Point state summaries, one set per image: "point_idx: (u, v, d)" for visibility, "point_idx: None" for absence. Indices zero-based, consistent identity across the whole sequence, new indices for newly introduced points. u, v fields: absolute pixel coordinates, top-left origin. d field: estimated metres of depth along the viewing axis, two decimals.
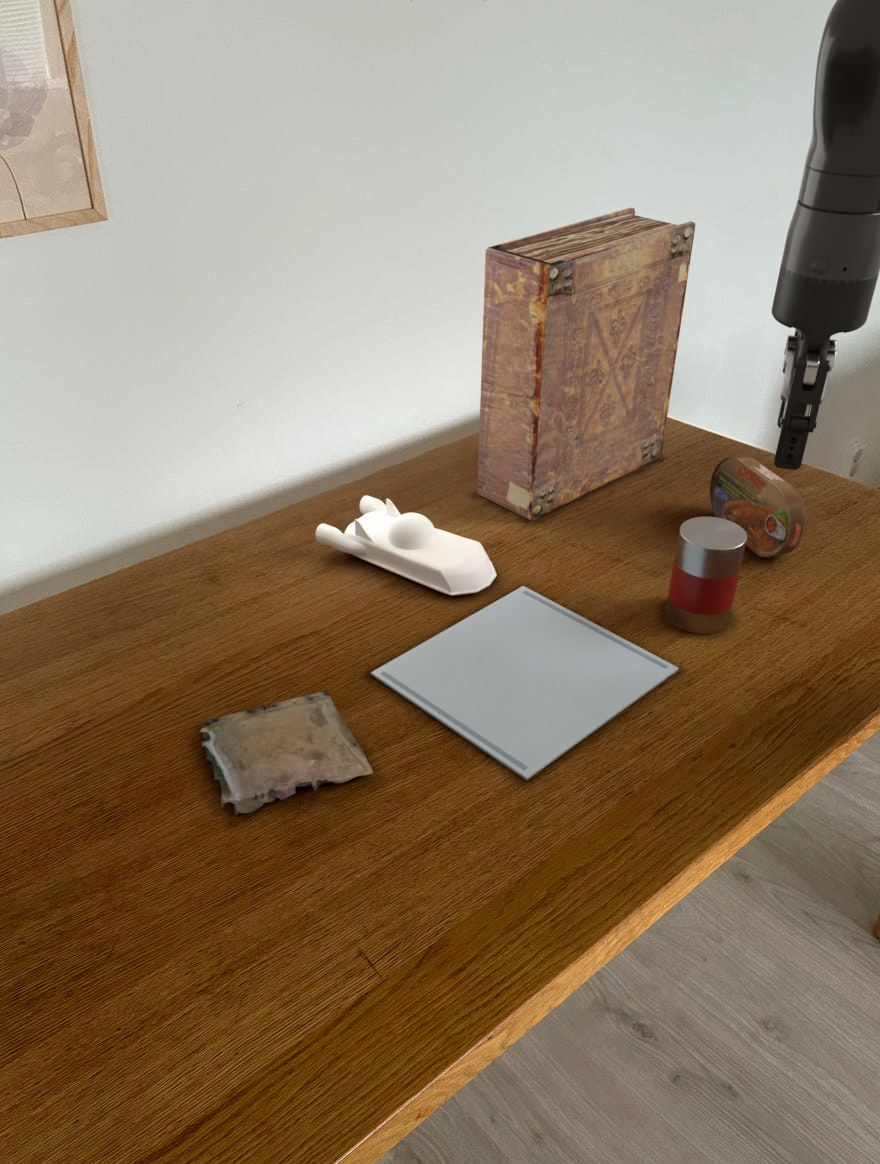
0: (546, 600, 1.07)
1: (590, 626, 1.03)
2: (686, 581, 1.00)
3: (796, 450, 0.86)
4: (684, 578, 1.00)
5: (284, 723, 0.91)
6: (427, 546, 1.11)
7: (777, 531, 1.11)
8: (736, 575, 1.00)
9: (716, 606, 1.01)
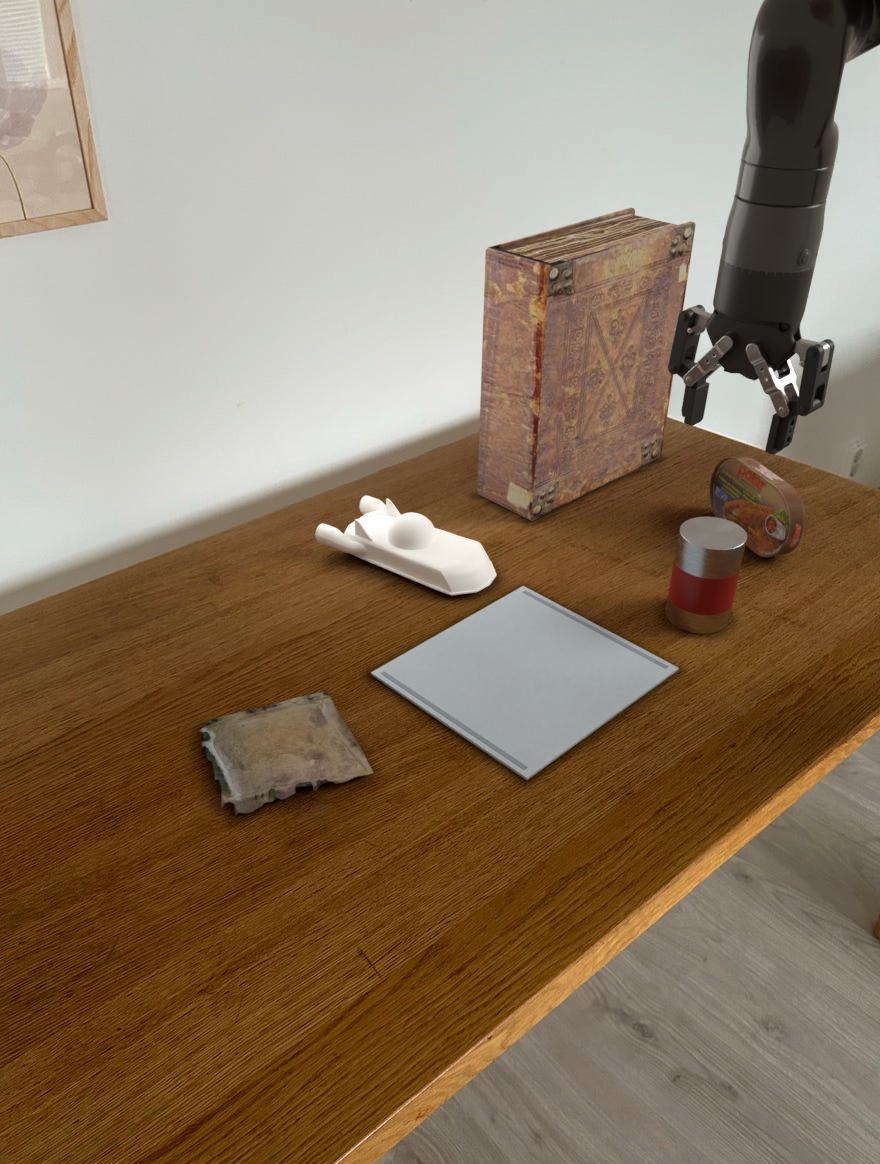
0: (546, 600, 1.07)
1: (590, 626, 1.03)
2: (686, 581, 1.00)
3: (792, 431, 0.89)
4: (684, 578, 1.00)
5: (284, 723, 0.91)
6: (427, 546, 1.11)
7: (777, 531, 1.11)
8: (736, 575, 1.00)
9: (716, 606, 1.01)
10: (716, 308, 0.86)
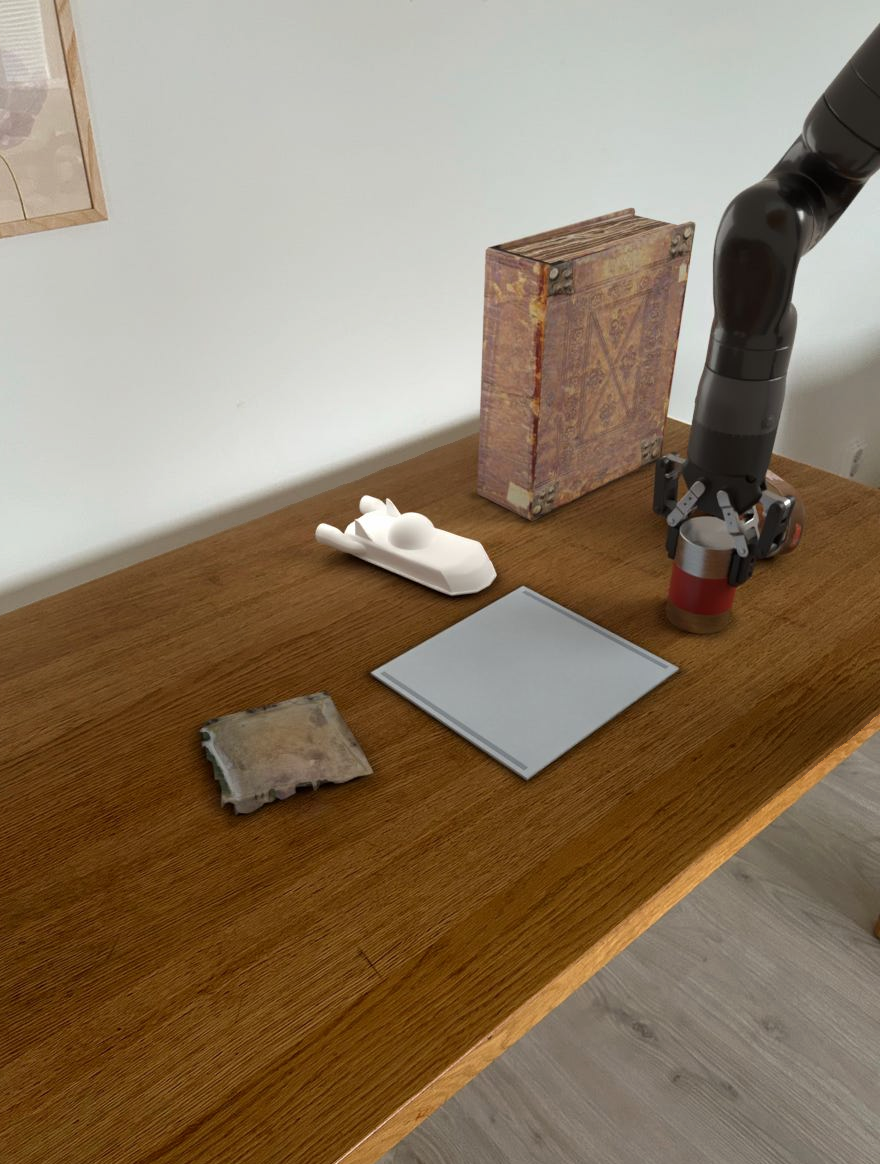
0: (546, 600, 1.07)
1: (590, 626, 1.03)
2: (686, 581, 1.00)
3: (752, 568, 0.98)
4: (684, 578, 1.00)
5: (284, 723, 0.91)
6: (427, 546, 1.11)
7: None
8: None
9: (716, 606, 1.01)
10: (689, 459, 0.94)
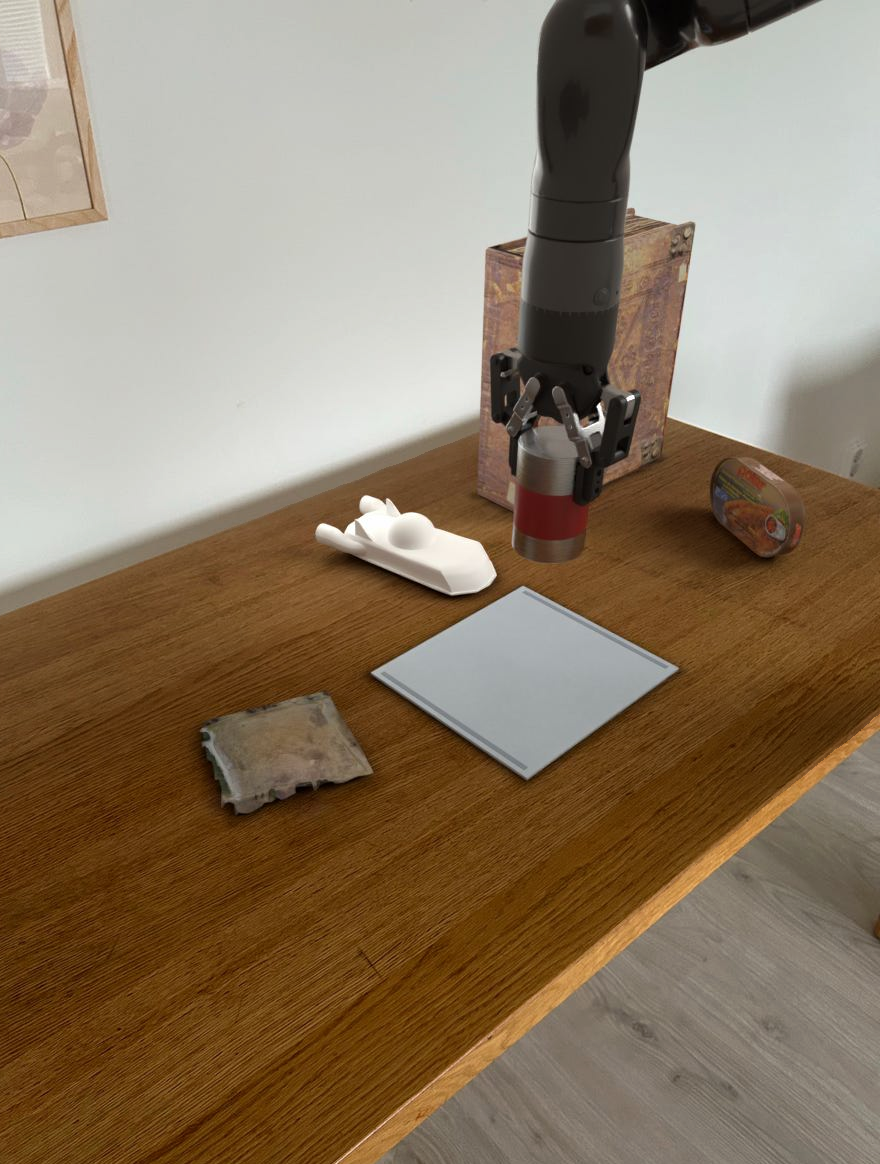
0: (546, 600, 1.07)
1: (590, 626, 1.03)
2: (526, 499, 0.85)
3: (600, 482, 0.83)
4: (524, 496, 0.85)
5: (284, 723, 0.91)
6: (427, 546, 1.11)
7: (777, 531, 1.11)
8: None
9: (562, 529, 0.86)
10: (518, 348, 0.79)
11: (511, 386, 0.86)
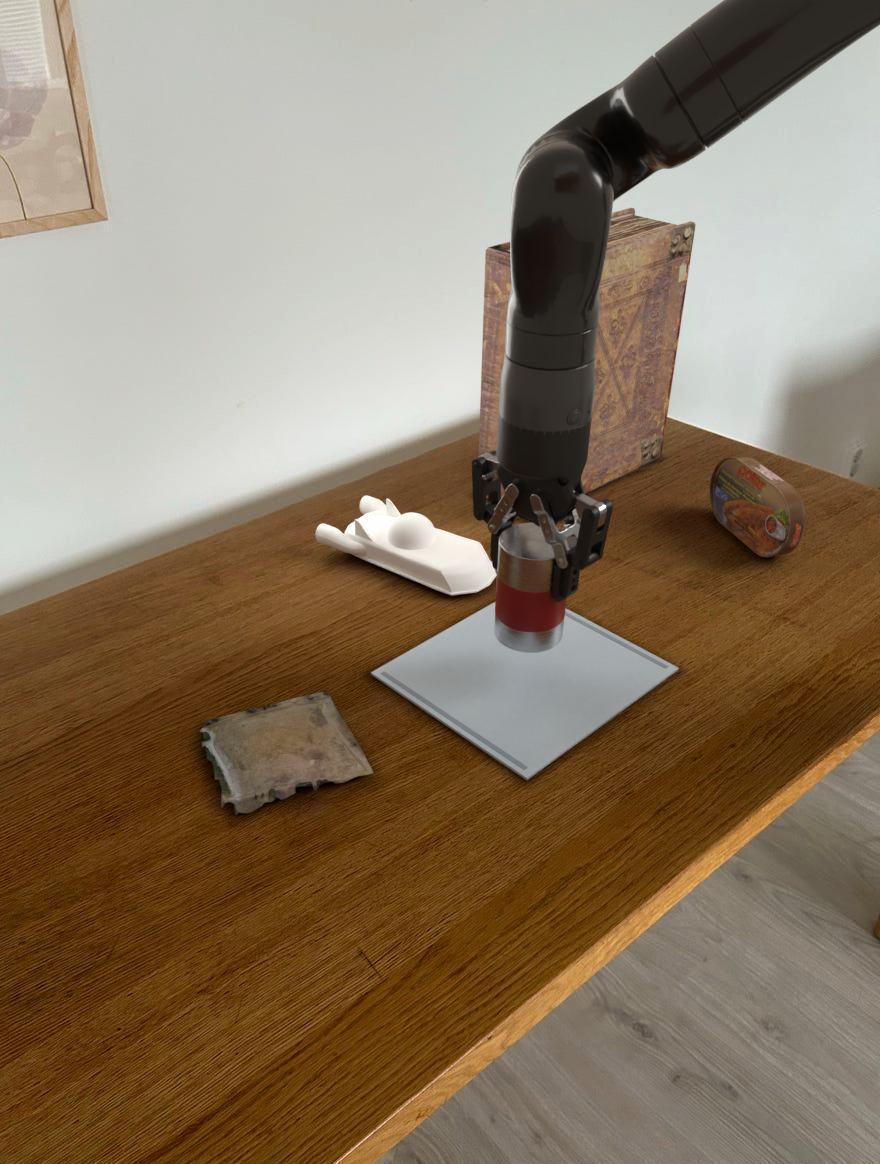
0: None
1: (590, 626, 1.03)
2: (506, 594, 0.90)
3: (576, 580, 0.88)
4: (504, 591, 0.90)
5: (284, 723, 0.91)
6: (427, 546, 1.11)
7: (777, 531, 1.11)
8: None
9: (541, 622, 0.91)
10: (497, 459, 0.84)
11: (492, 486, 0.91)
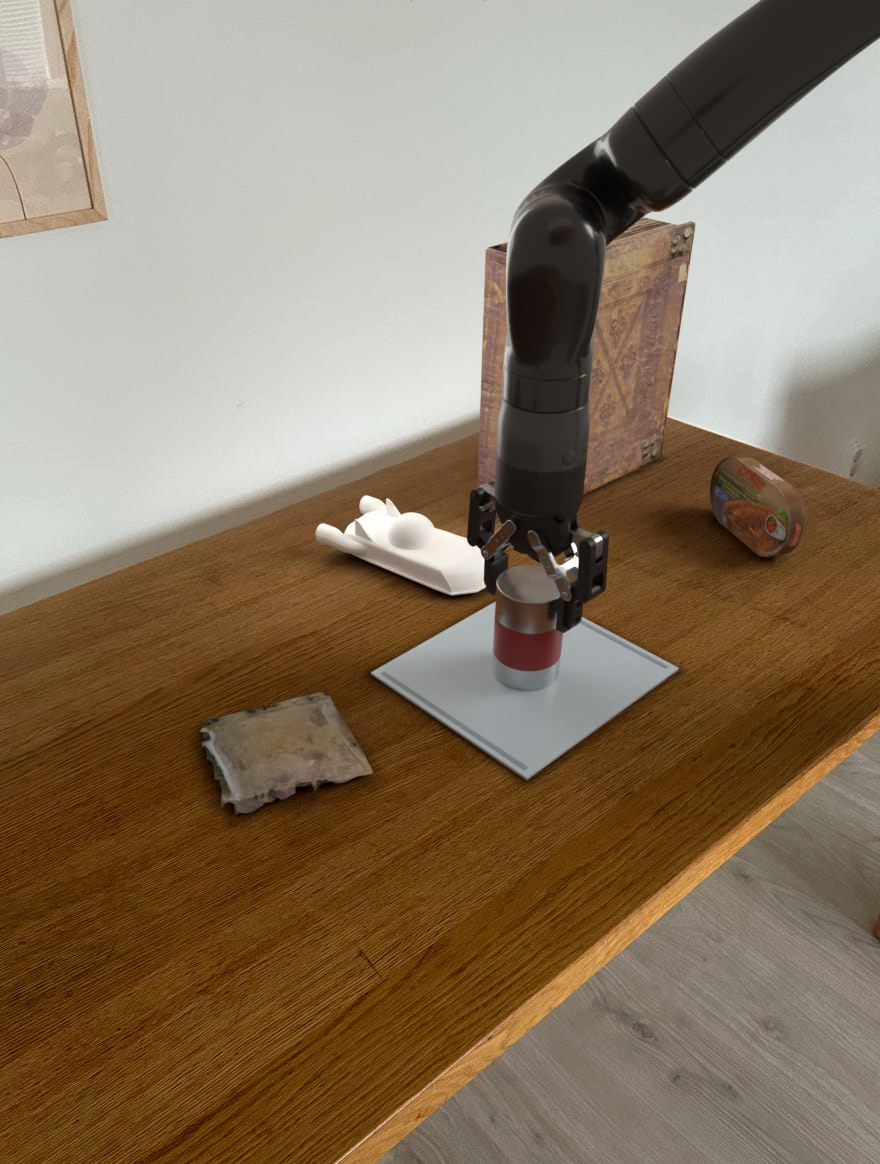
0: None
1: (590, 626, 1.03)
2: (504, 635, 0.93)
3: (580, 612, 0.89)
4: (502, 631, 0.93)
5: (284, 723, 0.91)
6: (427, 546, 1.11)
7: (777, 531, 1.11)
8: None
9: (538, 662, 0.93)
10: (495, 496, 0.86)
11: (487, 516, 0.93)
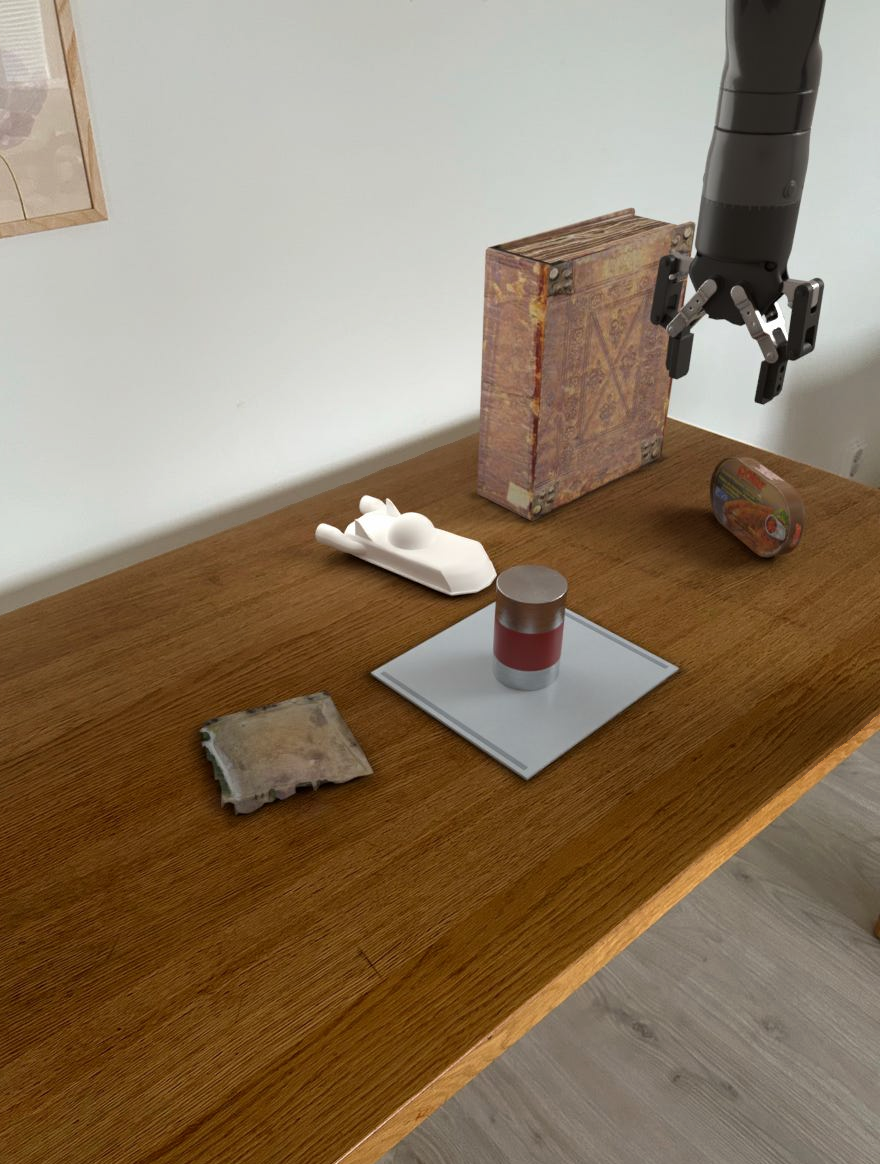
0: None
1: (590, 626, 1.03)
2: (504, 635, 0.93)
3: (782, 379, 0.84)
4: (502, 631, 0.93)
5: (284, 723, 0.91)
6: (427, 546, 1.11)
7: (777, 531, 1.11)
8: (557, 629, 0.92)
9: (538, 662, 0.93)
10: (698, 249, 0.81)
11: (675, 289, 0.88)
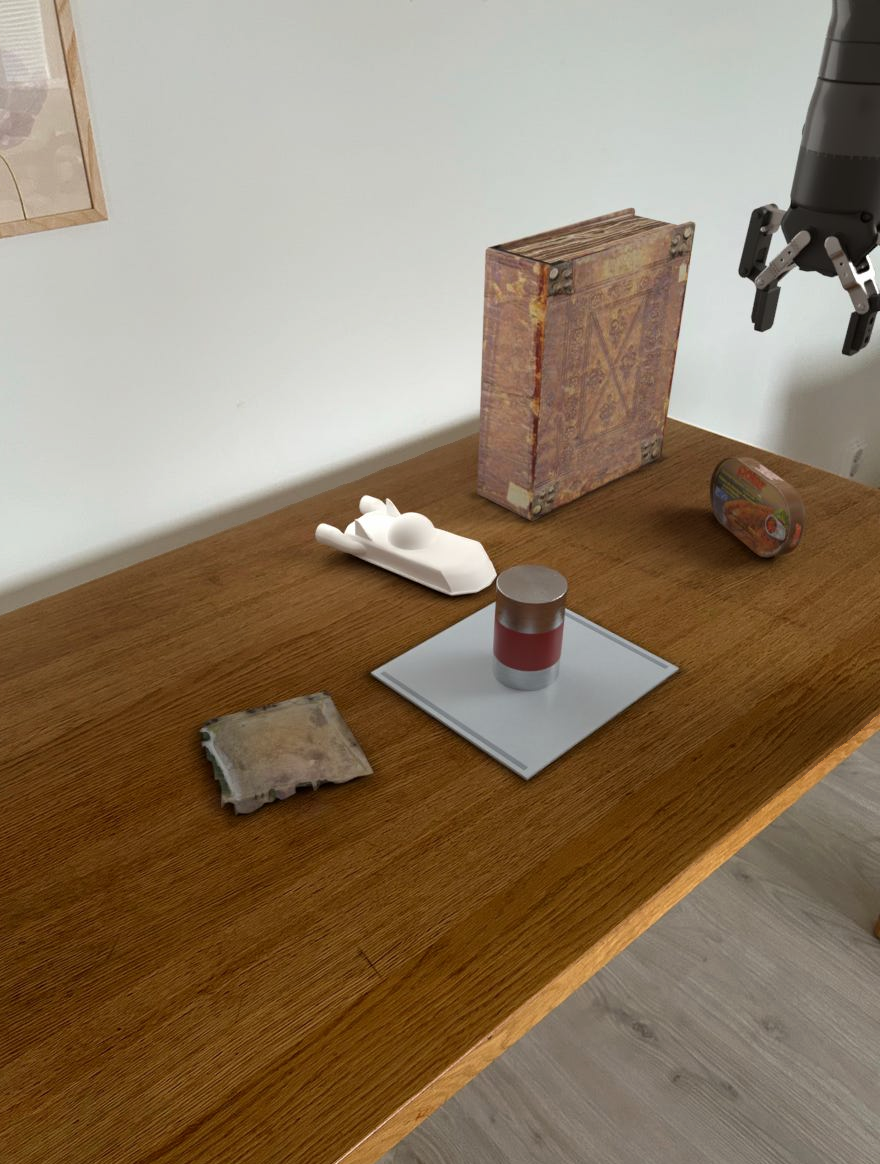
0: None
1: (590, 626, 1.03)
2: (504, 635, 0.93)
3: (870, 331, 0.86)
4: (502, 631, 0.93)
5: (284, 723, 0.91)
6: (427, 546, 1.11)
7: (777, 531, 1.11)
8: (557, 629, 0.92)
9: (538, 662, 0.93)
10: (795, 200, 0.83)
11: (764, 242, 0.90)
